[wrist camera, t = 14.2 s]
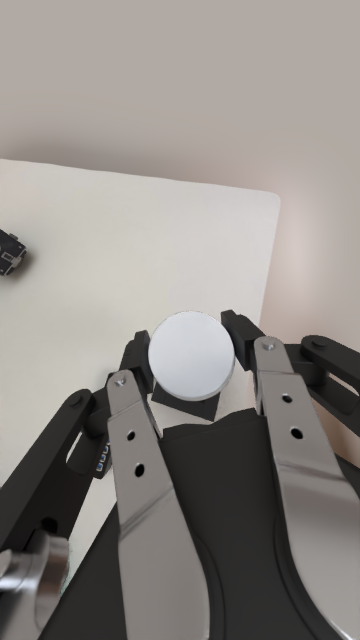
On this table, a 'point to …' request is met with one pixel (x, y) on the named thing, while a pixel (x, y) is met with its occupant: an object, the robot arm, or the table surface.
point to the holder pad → (187, 403)
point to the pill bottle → (191, 355)
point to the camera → (10, 253)
